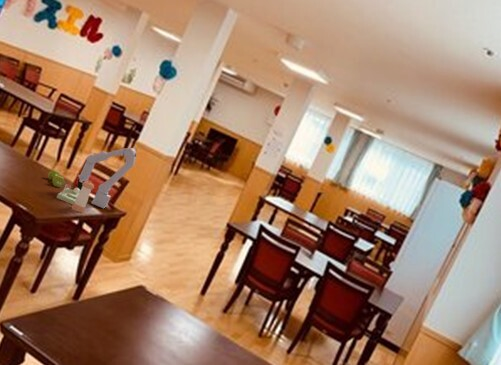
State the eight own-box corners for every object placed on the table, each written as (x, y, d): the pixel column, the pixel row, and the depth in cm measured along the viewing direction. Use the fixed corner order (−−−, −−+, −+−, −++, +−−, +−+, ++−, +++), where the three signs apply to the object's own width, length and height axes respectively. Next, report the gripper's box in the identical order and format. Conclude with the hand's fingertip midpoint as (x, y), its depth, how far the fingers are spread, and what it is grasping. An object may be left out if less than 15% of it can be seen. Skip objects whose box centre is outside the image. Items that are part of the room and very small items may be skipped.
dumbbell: (62, 189, 341) (67, 179, 341) (50, 185, 336) (55, 175, 336) (57, 181, 354) (61, 171, 354) (45, 177, 349) (49, 167, 349)
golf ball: (78, 194, 336) (81, 188, 336) (77, 195, 333) (80, 189, 332) (73, 191, 336) (75, 186, 335) (71, 192, 332) (74, 187, 331)
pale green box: (85, 199, 341) (92, 186, 341) (78, 206, 318) (84, 192, 317) (65, 191, 339) (71, 177, 338) (56, 197, 316) (62, 182, 315)
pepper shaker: (70, 209, 307) (83, 180, 305) (71, 206, 313) (84, 177, 312) (82, 213, 309) (95, 184, 307) (83, 210, 316) (96, 182, 314)
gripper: (83, 167, 347) (74, 186, 348) (78, 170, 332) (70, 189, 334) (93, 172, 348) (84, 190, 349) (88, 175, 334) (80, 194, 335)
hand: (78, 190), depth 341 cm, fingers closed
